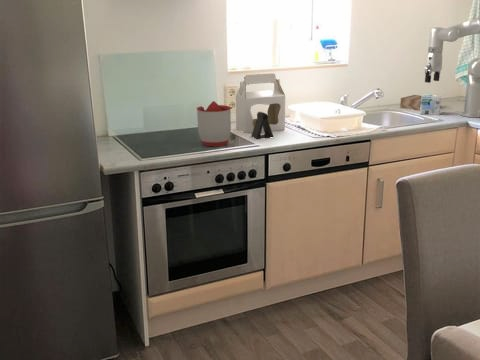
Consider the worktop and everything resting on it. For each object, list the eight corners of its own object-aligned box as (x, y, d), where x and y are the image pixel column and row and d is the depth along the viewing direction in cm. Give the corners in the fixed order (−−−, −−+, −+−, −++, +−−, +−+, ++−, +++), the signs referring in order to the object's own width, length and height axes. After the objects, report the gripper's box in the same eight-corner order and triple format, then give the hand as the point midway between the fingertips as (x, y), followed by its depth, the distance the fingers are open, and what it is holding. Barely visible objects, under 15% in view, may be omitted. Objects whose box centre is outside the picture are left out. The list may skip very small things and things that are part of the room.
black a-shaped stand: (268, 135, 273) (268, 110, 270) (273, 137, 268) (273, 112, 264) (251, 136, 270) (251, 112, 266) (256, 139, 265) (256, 114, 261)
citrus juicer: (220, 138, 268) (219, 96, 262) (237, 145, 254) (237, 102, 247) (190, 142, 261) (189, 99, 255) (206, 150, 247) (205, 105, 240)
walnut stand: (437, 107, 337) (438, 97, 335) (424, 111, 326) (425, 100, 324) (413, 104, 348) (414, 94, 346) (400, 107, 337) (400, 97, 335)
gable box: (274, 124, 296) (274, 71, 287) (285, 129, 284) (286, 74, 275) (235, 128, 288) (234, 74, 279) (245, 133, 276) (244, 77, 268)
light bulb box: (419, 114, 317) (421, 95, 314) (419, 112, 323) (421, 93, 320) (439, 115, 314) (441, 96, 311) (439, 113, 320) (441, 94, 317)
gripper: (433, 51, 300) (430, 83, 305) (449, 50, 311) (445, 80, 316) (421, 51, 305) (417, 82, 310) (436, 49, 316) (433, 79, 321)
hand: (431, 81), depth 313 cm, fingers open, 9 cm apart
